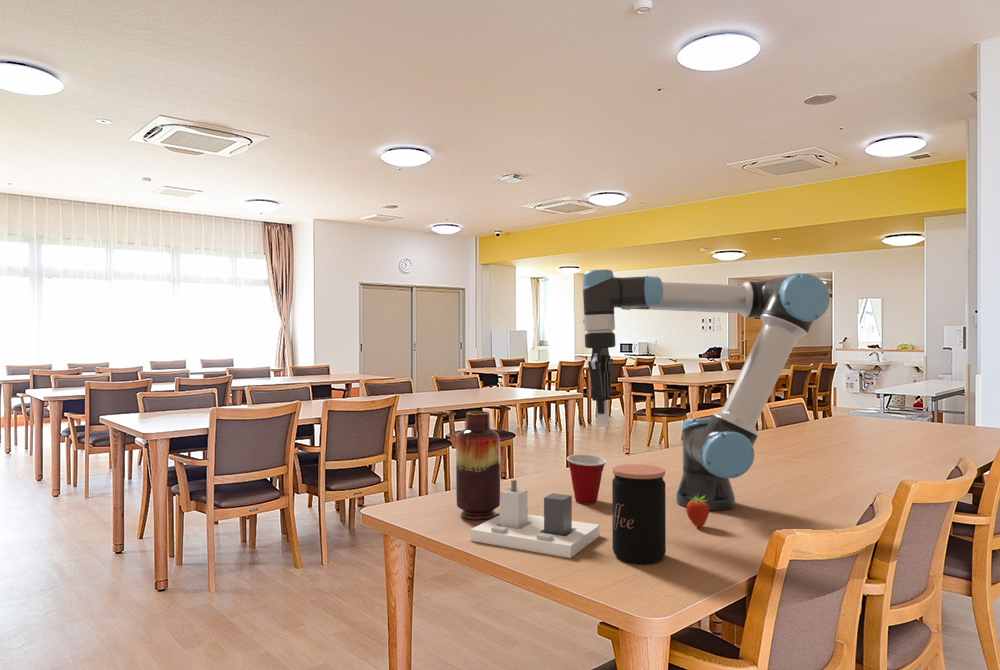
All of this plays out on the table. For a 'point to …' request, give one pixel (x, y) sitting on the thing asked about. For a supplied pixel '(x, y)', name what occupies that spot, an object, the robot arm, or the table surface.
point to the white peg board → (530, 528)
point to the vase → (478, 468)
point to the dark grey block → (558, 514)
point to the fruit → (697, 511)
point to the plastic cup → (586, 477)
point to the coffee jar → (638, 513)
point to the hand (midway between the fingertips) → (603, 426)
